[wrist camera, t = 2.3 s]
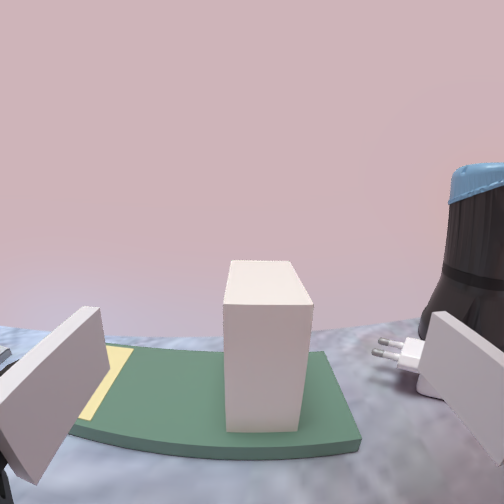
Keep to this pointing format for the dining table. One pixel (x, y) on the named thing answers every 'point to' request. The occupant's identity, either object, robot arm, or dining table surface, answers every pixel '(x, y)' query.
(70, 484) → the dining table surface
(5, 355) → the hard drive
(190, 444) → the board
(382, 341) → the power adapter
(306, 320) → the block
